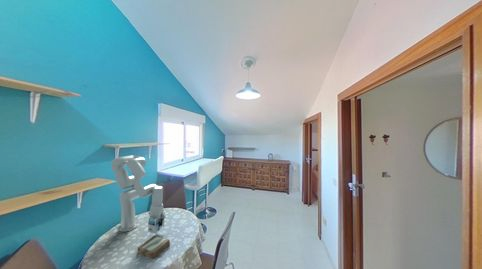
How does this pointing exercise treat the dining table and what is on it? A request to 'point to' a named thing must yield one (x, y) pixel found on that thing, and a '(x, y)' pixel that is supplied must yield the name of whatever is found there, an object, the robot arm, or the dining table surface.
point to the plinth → (153, 247)
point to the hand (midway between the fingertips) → (156, 224)
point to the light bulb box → (154, 224)
